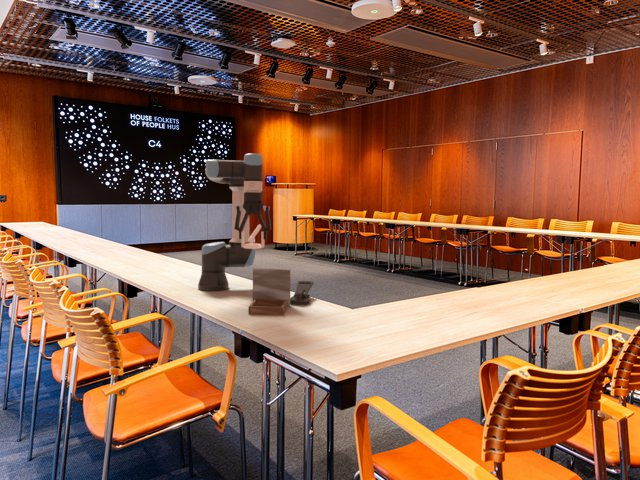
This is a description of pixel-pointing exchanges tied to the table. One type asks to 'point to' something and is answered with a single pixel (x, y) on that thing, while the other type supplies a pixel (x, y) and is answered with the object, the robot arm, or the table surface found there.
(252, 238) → the pink door lever handle
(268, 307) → the open wooden box
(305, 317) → the table surface
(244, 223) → the robot arm
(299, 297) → the zipper pull
